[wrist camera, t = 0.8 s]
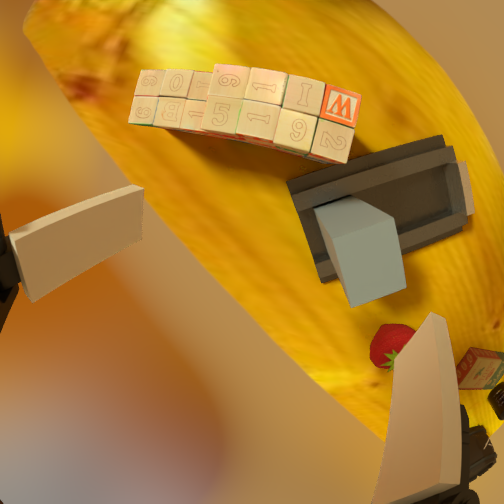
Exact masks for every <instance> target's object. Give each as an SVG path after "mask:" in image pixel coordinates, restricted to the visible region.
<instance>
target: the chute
mask: <svg viewBox="0 0 504 504" xmlns="http://www.w3.org/2000/svg"><path fill="white" fill-rule="evenodd" d="M286 183H287V186H288V188H289V191H290V194H291V197H292V200H293V203H294V205H295V208H296V211H297V213H298V215H299V218H300V221H301V224H302V227H303V230H304V232H305V235H306V238H307V241H308V244H309V247H310V250H311V253H312V256H313V259H314V263H315V266H316V269H317V272H318V275H319V278H320V281H321V283H324V282H327V281H330V280H333V279H336V278H339V277H338V275H337V272H336V270H335V268H334V265H333V263H332V261H331V259H330V256H329V254H328V252H327V248H326V245H325V242H324V239H323V236H322V233H321V230H320V227H319V224H318V221H317V218H316V215H315V212H314V209H313V208H314V207H316V206H319V205H322V204H325V203H328V202H331V201H334V200H337V199H340V198H343V197H346V196H349V195H352V196H354V197H356V198H358V199H360V200H362V201H364V202H366V203H368V204H370V205H371V206H373V207H375V208H377V209H379V210H381V211H383V212H384V213H386V214H388V215H390V216H392V217H393V218H394V221H395V226H396V230H397V235H398V240H399V245H400V250H401V255H403V254H406V253H409V252H411V251H414V250H416V249H419V248H421V247H424V246H427V245H429V244H432V243H434V242H436V241H439V240H441V239H444V238H446V237H449V236H451V235H453V234H456V233H458V232H461V231H462V225H465V224H467V223H468V220H467V216H468V215H471V214H473V213H475V210H474V203H473V196H472V190H471V185H470V179H469V174H468V170H467V165H466V161H458V160H456V157H455V153H454V149H453V146H446V145H445V142H444V138H443V135H437V136H433V137H429V138H425V139H421V140H418V141H414V142H410V143H406V144H403V145H399V146H396V147H392V148H388V149H385V150H382V151H378V152H375V153H371V154H368V155H365V156H361V157H358V158H355V159H352V160H349V161H347V163H346V164H336V165H333V166H330V167H327V168H324V169H321V170H318V171H315V172H312V173H309V174H306V175H303V176H300V177H297V178H295V179H292V180H289V181H286Z"/></svg>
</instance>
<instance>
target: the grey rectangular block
mask: <svg viewBox="0 0 504 504" xmlns="http://www.w3.org/2000/svg"><path fill="white" fill-rule="evenodd" d="M313 209H314V212H315V215H316V218H317V221H318V224H319V227H320V230H321V233H322V236H323V239H324V242H325V245H326V248H327V252H328V254H329V256H330V259H331V261H332V263H333V265H334V268H335V270H336V272H337V275H338V277H339V280H340V282H341V284H342V287H343V289H344V292H345V294H346V296H347V299H348V301H349V304H350V306H351V308H352V307H355V306H358V305H361V304H364V303H367V302H370V301H372V300H375V299H378V298H381V297H383V296H386V295H389V294H391V293H394V292H397V291H399V290H402V289H404V288H407V287H406V279H405V273H404V267H403V261H402V255H401V250H400V245H399V240H398V235H397V230H396V226H395V221H394V218H393V217H392V216H390V215H388V214H386V213H384V212H383V211H381V210H379V209H377V208H375V207H373V206H371V205H370V204H368V203H366V202H364V201H362V200H360V199H358V198H356V197H354V196H352V195H349V196H346V197H343V198H340V199H337V200H334V201H331V202H328V203H325V204H322V205H319V206H316V207H314V208H313Z"/></svg>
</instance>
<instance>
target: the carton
mask: <svg viewBox="0 0 504 504" xmlns="http://www.w3.org/2000/svg"><path fill="white" fill-rule="evenodd" d="M503 374H504V353H502V352H495V351H490V350H484V349H478V348H472V347H470V348H469V350H468V351H467V353H466V354H465V356H464V357H463V359H462V360H461V362H460V363H459V364H458V366H457V367H456V376H457V383H458V389H460V390H461V389H462V390H475V389H476V390H477V389H480V390H481V389H493V388H494V387H495V385H496V384H497V383H498V381H499V380H500V378H501V377H502V376H503Z"/></svg>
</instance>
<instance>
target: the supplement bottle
mask: <svg viewBox="0 0 504 504" xmlns="http://www.w3.org/2000/svg"><path fill="white" fill-rule="evenodd" d="M488 401H489V403H490V405H491V406H492V408H493V410H494V411H495V413H496V415H497V417H498V418H499V420H504V382H502V383H500V384H498V385H497V386H496V387H495V388H494V389H493V390H492V391H491V392H490V394H489V396H488Z"/></svg>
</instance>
